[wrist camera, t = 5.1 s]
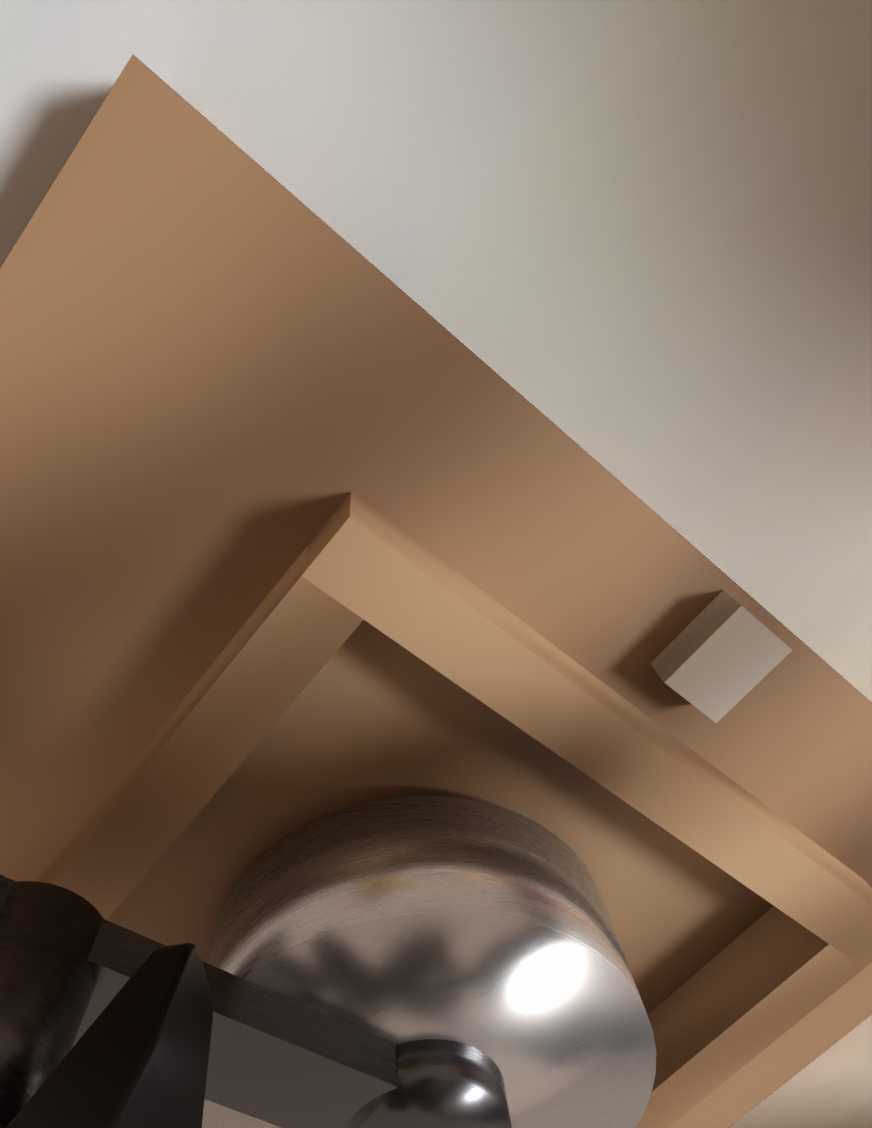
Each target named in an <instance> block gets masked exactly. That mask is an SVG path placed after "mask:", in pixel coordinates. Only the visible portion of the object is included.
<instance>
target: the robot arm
mask: <svg viewBox="0 0 872 1128" xmlns="http://www.w3.org/2000/svg"><path fill="white" fill-rule="evenodd" d="M212 1021H213V1004H212V997H211V993H210V989H209V986H208V982H207V979H206V975H205V971H204V968H203V964H202V961H201V957H200V954H199V951H198V949H197V947H196V946H195V945H194V944H192V943H183V944H176V945H169V946H162V947H159V948H157V949H155V950H154V951H153V952H151V954H150V955H149V956H148V957H147V958H146V959H145V961H144V962H143V963H142V964H141V965H140V967H139V968H138V969H137V970H136V971H135V973H134V974H133V975H132V976H131V977H130V979H129V980H128V981H127V982H126V984H125V985H124V986H123V987H122V988H121V990H120V991H119V992H118V993H117V994H116V996H115V997H114V998H113V999H112V1000H111V1002H110V1003H109V1004H108V1005H107V1006H106V1008H105V1009H104V1010H103V1011H102V1013H101V1014H100V1015H99V1016H98V1017H97V1019H96V1020H95V1021H94V1022H93V1023H92V1025H91V1026H90V1027H89V1028H88V1029H87V1031H86V1032H85V1033H84V1034H83V1035H82V1037H81V1038H80V1039H79V1040H78V1042H77V1043H76V1044H75V1045H74V1046H73V1048H72V1049H71V1050H70V1051H69V1052H68V1054H67V1055H66V1056H65V1057H64V1058H63V1060H62V1061H61V1062H60V1063H59V1064H58V1066H57V1067H56V1068H55V1069H54V1071H53V1072H52V1073H51V1074H50V1075H49V1077H48V1078H47V1079H46V1080H45V1081H44V1083H43V1084H42V1085H41V1086H40V1087H39V1089H38V1090H37V1091H36V1092H35V1093H34V1095H33V1096H32V1097H31V1098H30V1100H29V1101H28V1102H27V1103H26V1104H25V1106H24V1107H23V1108H22V1109H21V1110H20V1112H19V1113H18V1114H17V1115H16V1116H15V1118H14V1119H13V1120H12V1121H11V1122H10V1124H9V1125H8V1126H7V1127H6V1128H202V1119H203V1110H204V1100H205V1090H206V1080H207V1071H208V1061H209V1051H210V1041H211V1031H212Z"/></svg>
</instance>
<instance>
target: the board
mask: <svg viewBox="0 0 872 1128" xmlns="http://www.w3.org/2000/svg"><path fill="white" fill-rule="evenodd" d="M422 795H438V796H449V797H460V798H467V799H472V800H477V801H481V802H486V803H491V804H494V805H497V806H500V807H503V808H506V809H508V810H511V811H514V812H517V813H519V814H521V815H523V816H525V817H527V818H529V819H531V820H533V821H535V822H537V823H539V824H540V825H542V826H543V827H545V828H546V829H548V830H549V831H551V832H552V833H554V834H555V835H557V836H558V837H559V838H560V839H561V840H562V841H563V842H565V843H566V844H567V845H568V846H569V847H570V848H571V849H572V850H573V851H574V852H575V853H576V854H577V855H578V857H579V858H580V859H581V860H582V862H583V863H584V864H585V865H586V866H587V868H588V870H589V872H590V873H591V875H592V877H593V879H594V880H595V882H596V884H597V886H598V889H599V891H600V894H601V896H602V899H603V901H604V904H605V907H606V909H607V912H608V914H609V917H610V919H611V922H612V925H613V927H614V930H615V932H616V935H617V938H618V940H619V943H620V945H621V948H622V950H623V953H624V956H625V958H626V961H627V963H628V966H629V969H630V971H631V974H632V976H633V979H634V981H635V984H636V987H637V989H638V992H639V994H640V997H641V999H642V1002H643V1005H644V1007H645V1010H646V1013H647V1015H648V1018H649V1021H650V1024H651V1026H652V1029H653V1033H654V1040H655V1046H656V1074H655V1079H654V1083H653V1088H652V1093H651V1096H650V1098H649V1101H648V1103H647V1106H646V1108H645V1111H644V1113H643V1115H642V1117H641V1119H640V1121H639V1122H638V1124H637V1126H636V1128H729V1127H730V1126H732V1125H733V1124H734V1123H735V1122H737V1121H738V1120H739V1119H740V1118H742V1117H743V1116H744V1115H745V1114H747V1113H748V1112H749V1111H750V1110H752V1109H753V1108H754V1107H756V1106H757V1105H758V1104H759V1103H761V1102H762V1101H763V1100H764V1099H766V1098H767V1097H768V1096H769V1095H771V1094H772V1093H773V1092H774V1091H776V1090H777V1089H778V1088H779V1087H781V1086H782V1085H783V1084H785V1083H786V1082H787V1081H788V1080H790V1079H791V1078H792V1077H793V1076H795V1075H796V1074H797V1073H798V1072H800V1071H801V1070H802V1069H803V1068H805V1067H806V1066H807V1065H808V1064H810V1063H811V1062H812V1061H814V1060H815V1059H816V1058H817V1057H819V1056H820V1055H821V1054H822V1053H824V1052H825V1051H826V1050H827V1049H829V1048H830V1047H831V1046H832V1045H834V1044H835V1043H836V1042H837V1041H839V1040H840V1039H841V1038H843V1037H844V1036H845V1035H846V1034H848V1033H849V1032H850V1031H851V1030H853V1029H854V1028H855V1027H856V1026H858V1025H859V1024H860V1023H861V1022H863V1021H864V1020H865V1019H867V1018H868V1017H869V1016H870V1015H872V702H871V701H869V700H868V699H867V698H866V697H865V696H864V695H863V694H861V693H860V692H859V691H858V690H857V689H856V688H855V687H853V686H852V685H851V684H850V683H849V682H848V681H847V680H845V679H844V678H843V677H842V676H841V675H840V674H839V673H837V672H836V671H835V670H834V669H833V668H832V667H831V666H830V665H828V664H827V663H826V662H825V661H824V660H823V659H822V658H820V657H819V656H818V655H817V654H816V653H815V652H814V651H812V650H811V649H810V648H809V647H808V646H807V645H806V644H804V643H803V642H802V641H801V640H800V639H799V638H798V637H796V636H795V635H794V634H793V633H792V632H791V631H790V630H788V629H787V628H786V627H785V626H784V625H783V624H782V623H780V622H779V621H778V620H777V619H776V618H775V617H774V616H773V615H771V614H770V613H769V612H768V611H767V610H766V609H765V608H763V607H762V606H761V605H760V604H759V603H758V602H757V601H755V600H754V599H753V598H752V597H751V596H750V595H749V594H747V593H746V592H745V591H744V590H743V589H742V588H741V587H739V586H738V585H737V584H736V583H735V582H734V581H733V580H731V579H730V578H729V577H728V576H727V575H726V574H725V573H724V572H722V571H721V570H720V569H719V568H718V567H717V566H716V565H714V564H713V563H712V562H711V561H710V560H709V559H708V558H706V557H705V556H704V555H703V554H702V553H701V552H700V551H698V550H697V549H696V548H695V547H694V546H693V545H692V544H690V543H689V542H688V541H687V540H686V539H685V538H684V537H682V536H681V535H680V534H679V533H678V532H677V531H676V530H674V529H673V528H672V527H671V526H670V525H669V524H668V523H667V522H665V521H664V520H663V519H662V518H661V517H660V516H659V515H657V514H656V513H655V512H654V511H653V510H652V509H651V508H649V507H648V506H647V505H646V504H645V503H644V502H643V501H641V500H640V499H639V498H638V497H637V496H636V495H635V494H633V493H632V492H631V491H630V490H629V489H628V488H627V487H625V486H624V485H623V484H622V483H621V482H620V481H619V480H617V479H616V478H615V477H614V476H613V475H612V474H611V473H610V472H608V471H607V470H606V469H605V468H604V467H603V466H602V465H600V464H599V463H598V462H597V461H596V460H595V459H594V458H592V457H591V456H590V455H589V454H588V453H587V452H586V451H584V450H583V449H582V448H581V447H580V446H579V445H578V444H576V443H575V442H574V441H573V440H572V439H571V438H570V437H568V436H567V435H566V434H565V433H564V432H563V431H562V430H560V429H559V428H558V427H557V426H556V425H555V424H554V423H553V422H551V421H550V420H549V419H548V418H547V417H546V416H545V415H543V414H542V413H541V412H540V411H539V410H538V409H537V408H535V407H534V406H533V405H532V404H531V403H530V402H529V401H527V400H526V399H525V398H524V397H523V396H522V395H521V394H519V393H518V392H517V391H516V390H515V389H514V388H513V387H511V386H510V385H509V384H508V383H507V382H506V381H505V380H504V379H502V378H501V377H500V376H499V375H498V374H497V373H496V372H494V371H493V370H492V369H491V368H490V367H489V366H488V365H486V364H485V363H484V362H483V361H482V360H481V359H480V358H478V357H477V356H476V355H475V354H474V353H473V352H472V351H470V350H469V349H468V348H467V347H466V346H465V345H464V344H462V343H461V342H460V341H459V340H458V339H457V338H456V337H454V336H453V335H452V334H451V333H450V332H449V331H448V330H447V329H445V328H444V327H443V326H442V325H441V324H440V323H439V322H437V321H436V320H435V319H434V318H433V317H432V316H431V315H429V314H428V313H427V312H426V311H425V310H424V309H423V308H421V307H420V306H419V305H418V304H417V303H416V302H415V301H413V300H412V299H411V298H410V297H409V296H408V295H407V294H405V293H404V292H403V291H402V290H401V289H400V288H399V287H397V286H396V285H395V284H394V283H393V282H392V281H391V280H390V279H388V278H387V277H386V276H385V275H384V274H383V273H382V272H380V271H379V270H378V269H377V268H376V267H375V266H374V265H372V264H371V263H370V262H369V261H368V260H367V259H366V258H364V257H363V256H362V255H361V254H360V253H359V252H358V251H356V250H355V249H354V248H353V247H352V246H351V245H350V244H348V243H347V242H346V241H345V240H344V239H343V238H342V237H341V236H339V235H338V234H337V233H336V232H335V231H334V230H333V229H331V228H330V227H329V226H328V225H327V224H326V223H325V222H323V221H322V220H321V219H320V218H319V217H318V216H317V215H315V214H314V213H313V212H312V211H311V210H310V209H309V208H307V207H306V206H305V205H304V204H303V203H302V202H301V201H299V200H298V199H297V198H296V197H295V196H294V195H293V194H291V193H290V192H289V191H288V190H287V189H286V188H285V187H284V186H282V185H281V184H280V183H279V182H278V181H277V180H276V179H274V178H273V177H272V176H271V175H270V174H269V173H268V172H266V171H265V170H264V169H263V168H262V167H261V166H260V165H258V164H257V163H256V162H255V161H254V160H253V159H252V158H250V157H249V156H248V155H247V154H246V153H245V152H244V151H242V150H241V149H240V148H239V147H238V146H237V145H236V144H234V143H233V142H232V141H231V140H230V139H229V138H228V137H227V136H225V135H224V134H223V133H222V132H221V131H220V130H219V129H217V128H216V127H215V126H214V125H213V124H212V123H211V122H209V121H208V120H207V119H206V118H205V117H204V116H203V115H201V114H200V113H199V112H198V111H197V110H196V109H195V108H193V107H192V106H191V105H190V104H189V103H188V102H187V101H185V100H184V99H183V98H182V97H181V96H180V95H179V94H178V93H176V92H175V91H174V90H173V89H172V88H171V87H170V86H168V85H167V84H166V83H165V82H164V81H163V80H162V79H160V78H159V77H158V76H157V75H156V74H155V73H154V72H152V71H151V70H150V69H149V68H148V67H147V66H146V65H144V64H143V63H142V62H141V61H140V60H139V59H138V58H136V57H135V56H134V55H132V57H131V58H130V60H129V62H128V63H127V65H126V66H125V68H124V70H123V71H122V73H121V74H120V76H119V78H118V79H117V81H116V83H115V84H114V86H113V87H112V89H111V91H110V92H109V94H108V95H107V97H106V99H105V100H104V102H103V103H102V105H101V107H100V108H99V110H98V112H97V113H96V115H95V116H94V118H93V120H92V121H91V123H90V124H89V126H88V128H87V129H86V131H85V132H84V134H83V136H82V137H81V139H80V141H79V142H78V144H77V145H76V147H75V149H74V150H73V152H72V153H71V155H70V157H69V158H68V160H67V161H66V163H65V165H64V166H63V168H62V170H61V171H60V173H59V174H58V176H57V178H56V179H55V181H54V182H53V184H52V186H51V187H50V189H49V190H48V192H47V194H46V195H45V197H44V199H43V200H42V202H41V203H40V205H39V207H38V208H37V210H36V211H35V213H34V215H33V216H32V218H31V219H30V221H29V223H28V224H27V226H26V228H25V229H24V231H23V232H22V234H21V236H20V237H19V239H18V240H17V242H16V244H15V245H14V247H13V249H12V250H11V252H10V253H9V255H8V257H7V258H6V260H5V261H4V263H3V265H2V266H1V268H0V875H3V876H5V877H7V878H10V879H12V880H14V881H36V882H44V883H50V884H54V885H57V886H61V887H63V888H66V889H69V890H71V891H73V892H75V893H77V894H78V895H80V896H81V897H83V898H85V899H86V900H87V901H88V902H90V903H91V904H92V905H93V906H94V907H95V908H96V909H97V910H98V911H99V913H100V914H101V915H102V917H103V919H105V920H107V921H110V922H112V923H114V924H117V925H119V926H121V927H124V928H126V929H128V930H131V931H133V932H135V933H138V934H140V935H142V936H145V937H147V938H149V939H152V940H154V941H156V942H159V943H161V944H163V945H166V946H169V945H176V944H183V943H192V944H194V945H195V946H196V947H197V949H198V951H199V954H200V957H201V961H203V962H205V963H206V960H207V955H208V951H209V947H210V942H211V938H212V934H213V931H214V927H215V924H216V920H217V917H218V915H219V912H220V910H221V908H222V906H223V904H224V902H225V900H226V898H227V896H228V894H229V893H230V891H231V890H232V888H233V887H234V885H235V884H236V882H237V881H238V880H239V878H240V877H241V876H242V875H243V873H244V872H245V871H246V870H247V869H248V868H249V867H250V866H251V865H252V864H253V862H254V861H255V860H256V859H257V858H258V857H260V856H261V855H262V854H263V853H264V852H266V851H267V850H268V849H269V848H270V847H272V846H273V845H274V844H275V843H276V842H278V841H279V840H281V839H283V838H284V837H286V836H287V835H289V834H290V833H292V832H293V831H295V830H296V829H298V828H300V827H302V826H304V825H306V824H308V823H310V822H312V821H314V820H316V819H318V818H320V817H322V816H324V815H327V814H330V813H333V812H336V811H338V810H341V809H344V808H347V807H349V806H353V805H357V804H362V803H366V802H370V801H374V800H378V799H386V798H394V797H401V796H422Z"/></svg>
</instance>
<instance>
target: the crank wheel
mask: <svg viewBox="0 0 872 1128" xmlns="http://www.w3.org/2000/svg"><path fill="white" fill-rule="evenodd" d="M162 946H166V945H163V944H161V943H159V942H156V941H154V940H152V939H149V938H147V937H145V936H142V935H140V934H138V933H135V932H133V931H131V930H128V929H126V928H124V927H121V926H119V925H117V924H114V923H112V922H110V921H107V920H105V919H103V917H102V915H101V914H100V913H99V911H98V910H97V909H96V908H95V907H94V906H93V905H92V904H91V903H90V902H88V901H87V900H86V899H85V898H83V897H81V896H80V895H78V894H77V893H75V892H73V891H71V890H69V889H66V888H63V887H61V886H57V885H54V884H50V883H44V882H36V881H14V880H12V879H10V878H7V877H5V876H3V875H0V1128H6V1127H7V1126H8V1125H9V1124H10V1122H11V1121H12V1120H13V1119H14V1118H15V1116H16V1115H17V1114H18V1113H19V1112H20V1110H21V1109H22V1108H23V1107H24V1106H25V1104H26V1103H27V1102H28V1101H29V1100H30V1098H31V1097H32V1096H33V1095H34V1093H35V1092H36V1091H37V1090H38V1089H39V1087H40V1086H41V1085H42V1084H43V1083H44V1081H45V1080H46V1079H47V1078H48V1077H49V1075H50V1074H51V1073H52V1072H53V1071H54V1069H55V1068H56V1067H57V1066H58V1064H59V1063H60V1062H61V1061H62V1060H63V1058H64V1057H65V1056H66V1055H67V1054H68V1052H69V1051H70V1050H71V1049H72V1048H73V1046H74V1045H75V1044H76V1043H77V1042H78V1040H79V1039H80V1038H81V1037H82V1035H83V1034H84V1033H85V1032H86V1031H87V1029H88V1028H89V1027H90V1026H91V1025H92V1023H93V1022H94V1021H95V1020H96V1019H97V1017H98V1016H99V1015H100V1014H101V1013H102V1011H103V1010H104V1009H105V1008H106V1006H107V1005H108V1004H109V1003H110V1002H111V1000H112V999H113V998H114V997H115V996H116V994H117V993H118V992H119V991H120V990H121V988H122V987H123V986H124V985H125V984H126V982H127V981H128V980H129V979H130V977H131V976H132V975H133V974H134V973H135V971H136V970H137V969H138V968H139V967H140V965H141V964H142V963H143V962H144V961H145V959H146V958H147V957H148V956H149V955H150V954H151V952H153V951H154V950H155V949H157V948H159V947H162ZM202 964H203V968H204V971H205V975H206V979H207V982H208V986H209V989H210V993H211V997H212V1004H213V1021H212V1031H211V1041H210V1051H209V1061H208V1071H207V1080H206V1090H205V1100H204V1110H203V1119H202V1128H636V1126H637V1124H638V1122H639V1121H640V1119H641V1117H642V1115H643V1113H644V1111H645V1108H646V1106H647V1103H648V1101H649V1098H650V1096H651V1093H652V1088H653V1083H654V1079H655V1074H656V1046H655V1040H654V1033H653V1029H652V1026H651V1024H650V1021H649V1018H648V1015H647V1013H646V1010H645V1007H644V1005H643V1002H642V999H641V997H640V994H639V992H638V989H637V987H636V984H635V981H634V979H633V976H632V974H631V971H630V969H629V966H628V963H627V961H626V958H625V956H624V953H623V950H622V948H621V945H620V943H619V940H618V938H617V935H616V932H615V930H614V927H613V925H612V922H611V919H610V917H609V914H608V912H607V909H606V907H605V904H604V901H603V899H602V896H601V894H600V891H599V889H598V886H597V884H596V882H595V880H594V879H593V877H592V875H591V873H590V872H589V870H588V868H587V866H586V865H585V864H584V863H583V862H582V860H581V859H580V858H579V857H578V855H577V854H576V853H575V852H574V851H573V850H572V849H571V848H570V847H569V846H568V845H567V844H566V843H565V842H563V841H562V840H561V839H560V838H559V837H558V836H557V835H555V834H554V833H552V832H551V831H549V830H548V829H546V828H545V827H543V826H542V825H540V824H539V823H537V822H535V821H533V820H531V819H529V818H527V817H525V816H523V815H521V814H519V813H517V812H514V811H511V810H508V809H506V808H503V807H500V806H497V805H494V804H491V803H486V802H481V801H477V800H472V799H467V798H460V797H449V796H438V795H422V796H401V797H394V798H386V799H378V800H374V801H370V802H366V803H362V804H357V805H353V806H349V807H347V808H344V809H341V810H338V811H336V812H333V813H330V814H327V815H324V816H322V817H320V818H318V819H316V820H314V821H312V822H310V823H308V824H306V825H304V826H302V827H300V828H298V829H296V830H295V831H293V832H292V833H290V834H289V835H287V836H286V837H284V838H283V839H281V840H279V841H278V842H276V843H275V844H274V845H273V846H272V847H270V848H269V849H268V850H267V851H266V852H264V853H263V854H262V855H261V856H260V857H258V858H257V859H256V860H255V861H254V862H253V864H252V865H251V866H250V867H249V868H248V869H247V870H246V871H245V872H244V873H243V875H242V876H241V877H240V878H239V880H238V881H237V882H236V884H235V885H234V887H233V888H232V890H231V891H230V893H229V894H228V896H227V898H226V900H225V902H224V904H223V906H222V908H221V910H220V912H219V915H218V917H217V920H216V924H215V927H214V931H213V934H212V938H211V942H210V947H209V951H208V955H207V960H206V963H205V962H203V961H202Z"/></svg>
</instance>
